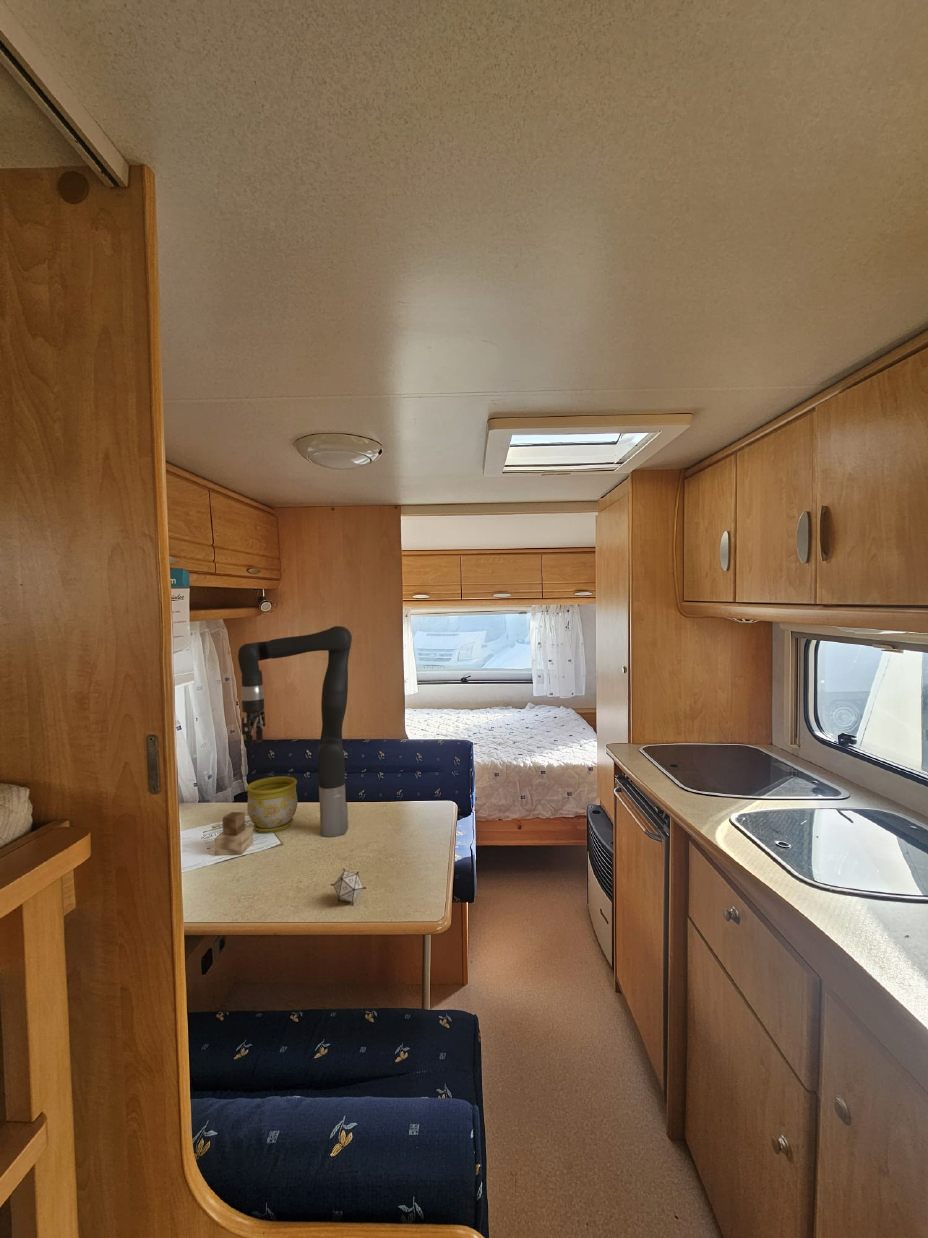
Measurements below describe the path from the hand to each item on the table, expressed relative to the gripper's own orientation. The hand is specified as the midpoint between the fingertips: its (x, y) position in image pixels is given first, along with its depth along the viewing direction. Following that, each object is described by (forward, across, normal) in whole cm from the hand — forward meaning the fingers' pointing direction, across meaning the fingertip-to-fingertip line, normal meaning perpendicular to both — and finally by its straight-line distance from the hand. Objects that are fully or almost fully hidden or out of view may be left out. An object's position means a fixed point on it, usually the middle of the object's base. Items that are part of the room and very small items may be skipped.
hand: (254, 742), depth 189 cm
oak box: (+34, -10, +4) cm, 36 cm away
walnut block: (+28, -10, +4) cm, 30 cm away
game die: (+34, -45, -44) cm, 72 cm away
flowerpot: (+34, +9, -2) cm, 36 cm away
